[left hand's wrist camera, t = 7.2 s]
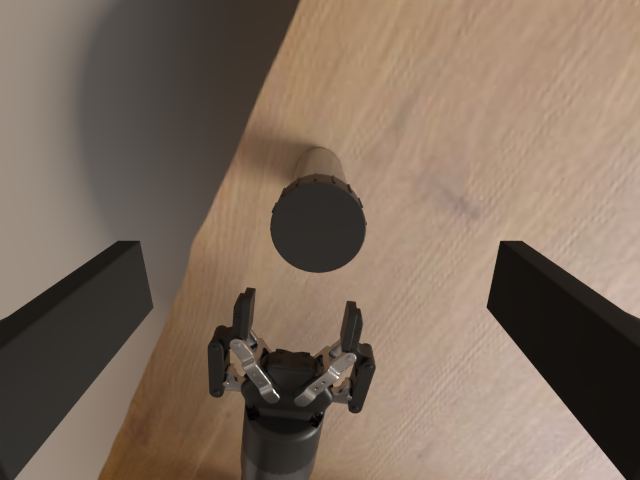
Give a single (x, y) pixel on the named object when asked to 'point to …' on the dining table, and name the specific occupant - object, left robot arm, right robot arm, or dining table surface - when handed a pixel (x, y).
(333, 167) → the jar
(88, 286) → the left robot arm
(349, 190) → the lid
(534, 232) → the dining table surface
